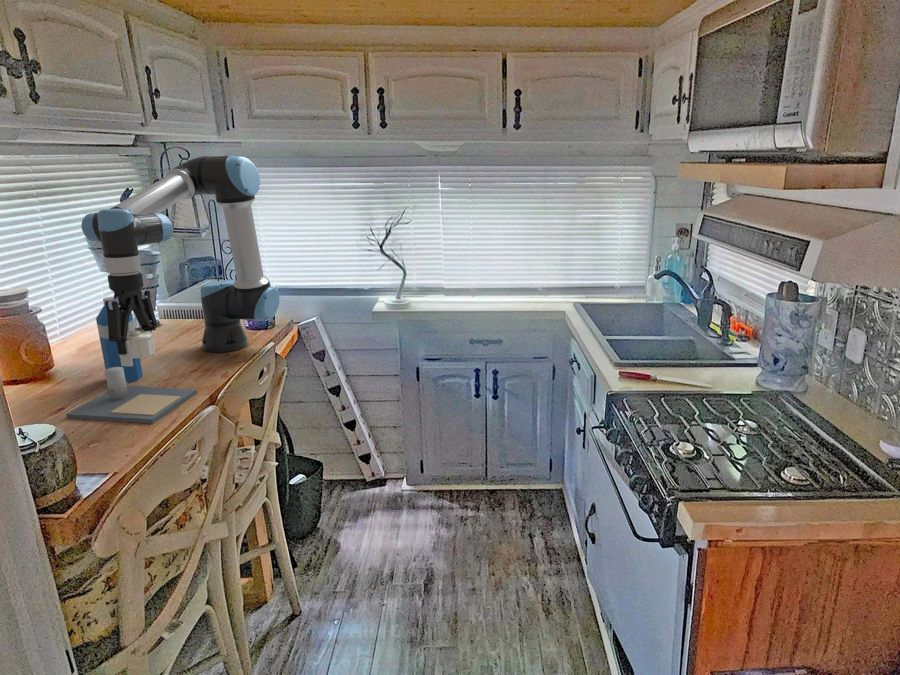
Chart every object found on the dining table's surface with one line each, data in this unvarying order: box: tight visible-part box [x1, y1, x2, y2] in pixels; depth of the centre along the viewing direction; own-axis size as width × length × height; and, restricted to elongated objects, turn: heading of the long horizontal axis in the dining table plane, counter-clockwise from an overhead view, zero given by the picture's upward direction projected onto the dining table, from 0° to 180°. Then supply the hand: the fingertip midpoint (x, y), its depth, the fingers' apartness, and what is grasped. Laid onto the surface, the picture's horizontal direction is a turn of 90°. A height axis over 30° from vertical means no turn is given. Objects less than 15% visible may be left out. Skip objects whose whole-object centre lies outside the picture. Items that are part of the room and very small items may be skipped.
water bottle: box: [95, 296, 144, 384], centre depth 172 cm, size 9×9×25 cm
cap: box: [119, 330, 156, 359], centre depth 148 cm, size 8×8×6 cm
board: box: [65, 367, 198, 425], centre depth 155 cm, size 20×24×9 cm
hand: (138, 360), depth 150 cm, fingers closed on cap, 8 cm apart
